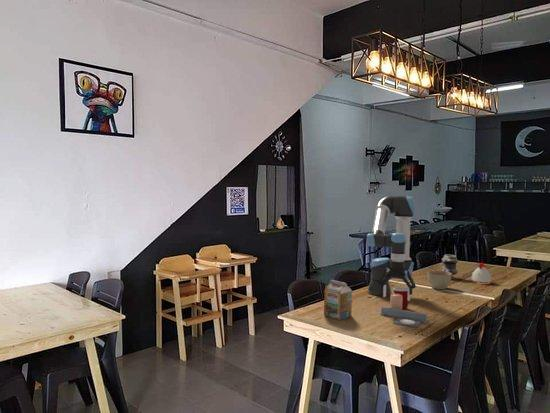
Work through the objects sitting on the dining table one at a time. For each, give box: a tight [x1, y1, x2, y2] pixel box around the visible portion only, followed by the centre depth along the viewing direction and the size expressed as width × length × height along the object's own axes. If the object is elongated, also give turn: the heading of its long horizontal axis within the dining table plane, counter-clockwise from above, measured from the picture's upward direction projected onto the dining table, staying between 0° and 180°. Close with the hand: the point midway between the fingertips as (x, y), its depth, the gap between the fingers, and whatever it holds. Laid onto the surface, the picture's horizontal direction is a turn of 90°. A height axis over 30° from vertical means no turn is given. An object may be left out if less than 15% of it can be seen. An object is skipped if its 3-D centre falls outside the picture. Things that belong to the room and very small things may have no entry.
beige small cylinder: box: [389, 293, 403, 310], centre depth 239 cm, size 6×6×10 cm
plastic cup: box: [392, 286, 410, 311], centre depth 248 cm, size 11×11×12 cm
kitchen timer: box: [470, 262, 492, 283], centre depth 320 cm, size 14×14×15 cm
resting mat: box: [392, 317, 423, 329], centre depth 222 cm, size 12×11×1 cm
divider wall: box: [379, 306, 428, 324], centre depth 230 cm, size 24×4×4 cm, turn 58°
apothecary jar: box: [440, 254, 459, 280], centre depth 333 cm, size 12×12×18 cm
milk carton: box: [323, 279, 353, 321], centre depth 232 cm, size 11×11×19 cm
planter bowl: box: [426, 270, 453, 290], centre depth 300 cm, size 16×16×11 cm
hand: (396, 298), depth 239 cm, fingers open, 13 cm apart
